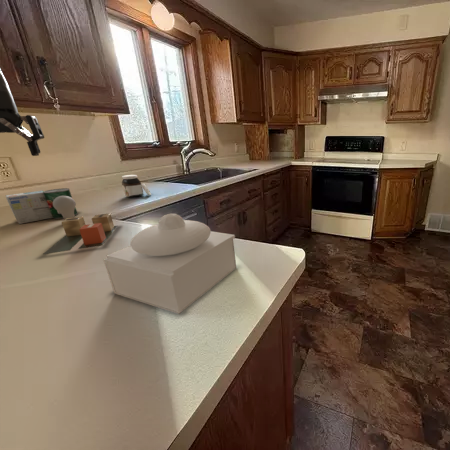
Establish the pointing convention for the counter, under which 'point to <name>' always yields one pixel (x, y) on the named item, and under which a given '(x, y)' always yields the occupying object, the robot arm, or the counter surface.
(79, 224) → the tan wooden cube
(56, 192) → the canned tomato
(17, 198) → the light bulb box
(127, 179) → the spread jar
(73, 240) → the dark green flat slab
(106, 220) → the tan wooden block
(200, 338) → the counter surface
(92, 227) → the orange block
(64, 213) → the lightbulb
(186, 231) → the butter dish
